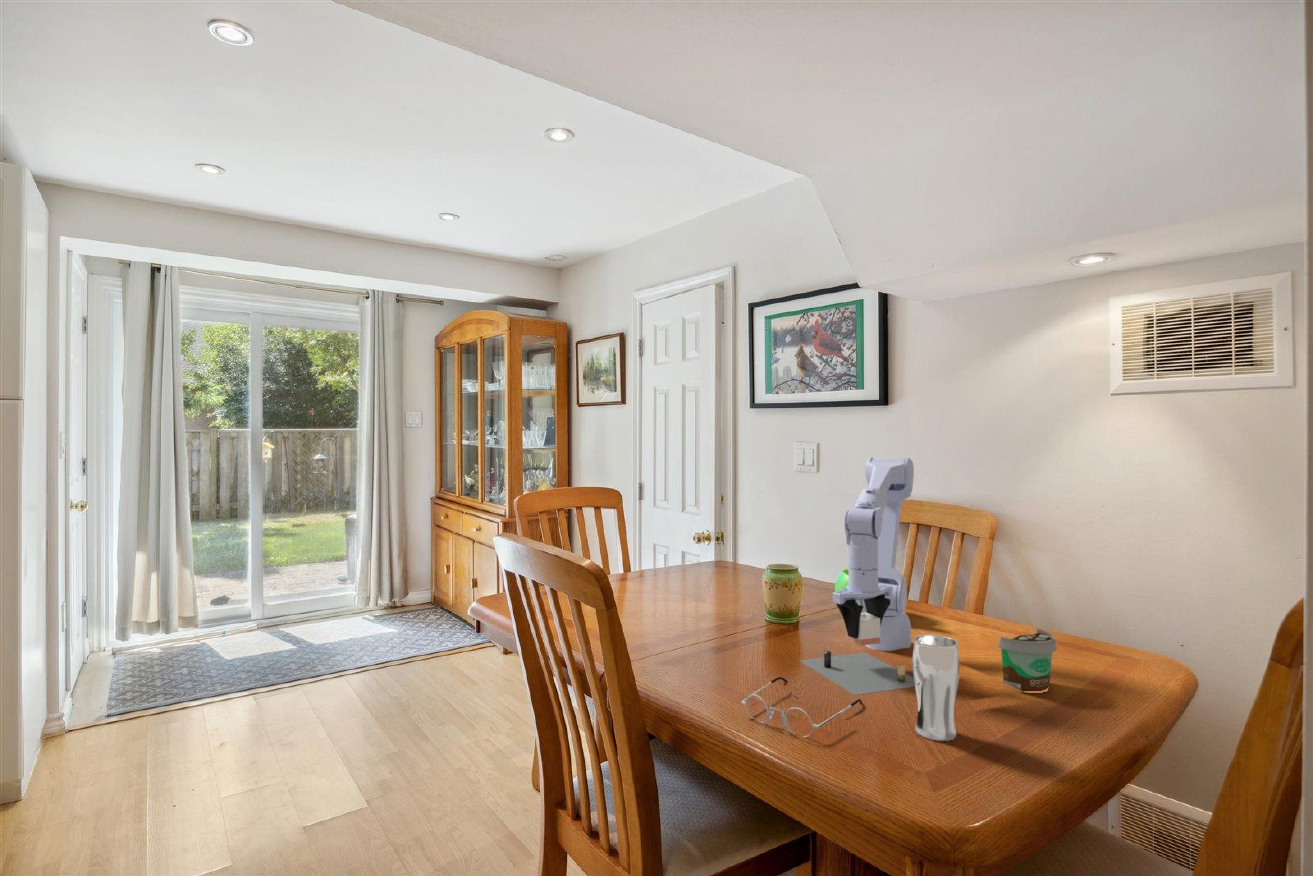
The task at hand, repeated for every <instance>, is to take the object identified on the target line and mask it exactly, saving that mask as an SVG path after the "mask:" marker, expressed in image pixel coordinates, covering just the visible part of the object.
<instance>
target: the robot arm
mask: <svg viewBox="0 0 1313 876" xmlns="http://www.w3.org/2000/svg"><path fill="white" fill-rule="evenodd" d="M914 467H915V466H914V462H913V460H912V459H911V457H906V458H896V457H895V458H891V457H889V458H888V457H871V456H870V457H869V458H868V459H867V460H866V464H865V471H864V473H865V479H866V482H867V487H866V488H863V490H861V492H860V493H859V495H858V498H857V500H856V503H855V505H854V507H851V508H850V509H849V510H846V512H845V514H844V515H845V516H844V531H845V532H844V533H845V537H846V538H845V542H846V545H848V567H849V586H846V589H843V590H841V591H838V592H835V591H834V592H832V603H834V604H836V606H837V608H838V610H839V612H840V614H841V616H842V619H843V621H844V622H843V623H844V624H845V625H844V626H845V629H846V635H847V634H848V636H849V637H852V638H855V639H856V638H858V634H859V621H860V616H861V612H862V611H863V612H866V613H869V614H871V615H873V616H876V617H878V618H880V643H879V644H871V645H864V646H865V647H866V648H869V649H872V650H876V651H880V652H881V651H884V652H891V651H893V652H894V651H897V650H901V649H909V648H911V647H912V626H911V621H910V620H911V619H910V618H909V616H908V615H907V613H906V612H905V611H906V607H907V600H908V593H907V586H908V585H907V582H906V581H905V579H906V578H905V577H904V576H903V575H902V574H901V573H900V572H899V571H898V570H896V562H897V561H896V559H897V552H898V551H897V549H898V540H899V530H900V524H901V523H900V520H901V511H902V507H903V503H904V501H905V500H907V499H908V498H910V497H911V496H912V492H913V486H914V475H915V474H914V471H915V470H914ZM856 600H857V602H856ZM857 603H858V604H857Z"/></svg>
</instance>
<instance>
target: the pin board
mask: <svg viewBox="0 0 1313 876" xmlns="http://www.w3.org/2000/svg"><path fill="white" fill-rule="evenodd" d="M798 661H799V662H800V663H802V664H804V665H805V666H806V667H808V668H809V669H810V668H811V669H812V670H813V671H815V672H817V673H818V674H819V675H821V676H823V677H824V678H826V679H828V680H829V681H830V682H832V683H834V684H836V685H837V686H839V687H840V688H842V689H843V690H845V691H847V692H848V693H849V694H851V695H853V696H858V695H867V694H874V693H881V692H888V691H895V690H902V689H909V688H910V689H911V688H915V684H914V677H913V675H910V674H908V673H906V672H905V682H898V681H897V667H894V666H892V665H891V664H888V663H886V662H884V661H882V660H880V659H878V658H876V657H875V656H873V655H871V654H869V653H866V652H859V653H851V654H850V653H849V654H841V655H834V656H831V668H825V667H824V657H818V658H810V659H801V660H798Z"/></svg>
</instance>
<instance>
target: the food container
mask: <svg viewBox="0 0 1313 876" xmlns="http://www.w3.org/2000/svg"><path fill="white" fill-rule="evenodd" d="M998 648H999V649H1001V664H1002V665H1001V666H1002V676H1003V683H1004V684H1006V685H1007V686H1010V687H1013V688H1014V689H1018V690H1019V691H1021V692H1024V691H1042V690H1045V689H1047V688H1048V687H1049V688H1050V685H1051V684H1050V681H1051V673H1052V671H1051V669H1052V660H1053V659H1052V658H1053V653H1054V652H1055V651H1057V644H1056V640H1055V638H1054V636H1053V634H1051V633H1050V632H1048V631H1046V630H1043V629H1040V628H1037V629H1036V633H1033V634H1027V635H1026V634H1020V635H1017V636H1015V637H1014V638H1008V637H1004V636H1000V640H999V646H998Z"/></svg>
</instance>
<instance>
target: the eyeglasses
mask: <svg viewBox="0 0 1313 876" xmlns="http://www.w3.org/2000/svg"><path fill="white" fill-rule="evenodd" d="M779 680H782V681H783V682H784V683H788V682H789V681H788V680H787V679H785V678H784V677H782V676H778V677H775V678H774V679H772V680H771V681H769V683H768V684H767V685H766V684H765V686H763V687H761V688H759V689H758V690H756V691H754V692H753V693H751V694H750V695H747V697H745V698H744V699H743V700H741V704H742V705H743V706H745V709H746V710H745V711H746V713H747V714H748V717H750V719H751V720H752V719H754V717H753V716H752V715H751V714H750V711H749V710H748V706H747V705H748V704H747V703H748V702H747V701H749V700H750V699H751V698H753V697H756V698H759V699H760V701H762V703H763V704H764V706H765V708H766V711H767V714H766V715H767V717H766V719H765V721H762V722H760V724H763V725H767V724H768V723H769V722H770V720H772V719H773V717H774V714H775V711H779V712H781V716H780V718H782V723H783V725H784V727H785V729H786V731H787V732H788V733H789V734H792V735H796V733H795V732H793V731H792V729H791V728H790V727H789V725H788V723H789V721H788V717H787V713H788V712H789V711H790V710H798V711H801V712H802V713H804V714H805V715H806V717H807V718H808V719H809V721H810V724H811V730H810V732H809V734H808V735H804V736H802V737H803V738H808V737H809V736H810V735H811V734H812V733H813V729H820V728H822V727H823V726H824V725H826V724H827V723H829V722H830V721H832V720H834V719H835V718H837V717H839V716H840V715H841V714H843V713H844V712H845V711H846V710H848V709H850V708H853V707H854V706H855V705H856V704H858V703H859V704H862V699H856V700H855V701H854V702H851V703H850V704H849V705H848V706H847V707H846V708H844V709H842V710H840V711H838V712H837V713H835V714H834V715H833V716H831V717H829V718H828V719H826V720H825V721H823V722H821V723H820V724H814V723H813V720H812V718H811V717H810V715H809V714H808V713H807V712H806V711H805V710H804V709H803V708H800V707H790V708H788V709H787V711H786V712H785V714H784V710H783V709H779V708H775V707H772V706H769V708H768V705H767V703H766V701H765V700H764V699H763V698H762V697H760V695H758V694H759V693H760V692H761V691H763V690H765V688H766V687H768V686H769V685H773V684H774V683H775V682H776V681H779ZM774 710H775V711H774Z"/></svg>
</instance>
